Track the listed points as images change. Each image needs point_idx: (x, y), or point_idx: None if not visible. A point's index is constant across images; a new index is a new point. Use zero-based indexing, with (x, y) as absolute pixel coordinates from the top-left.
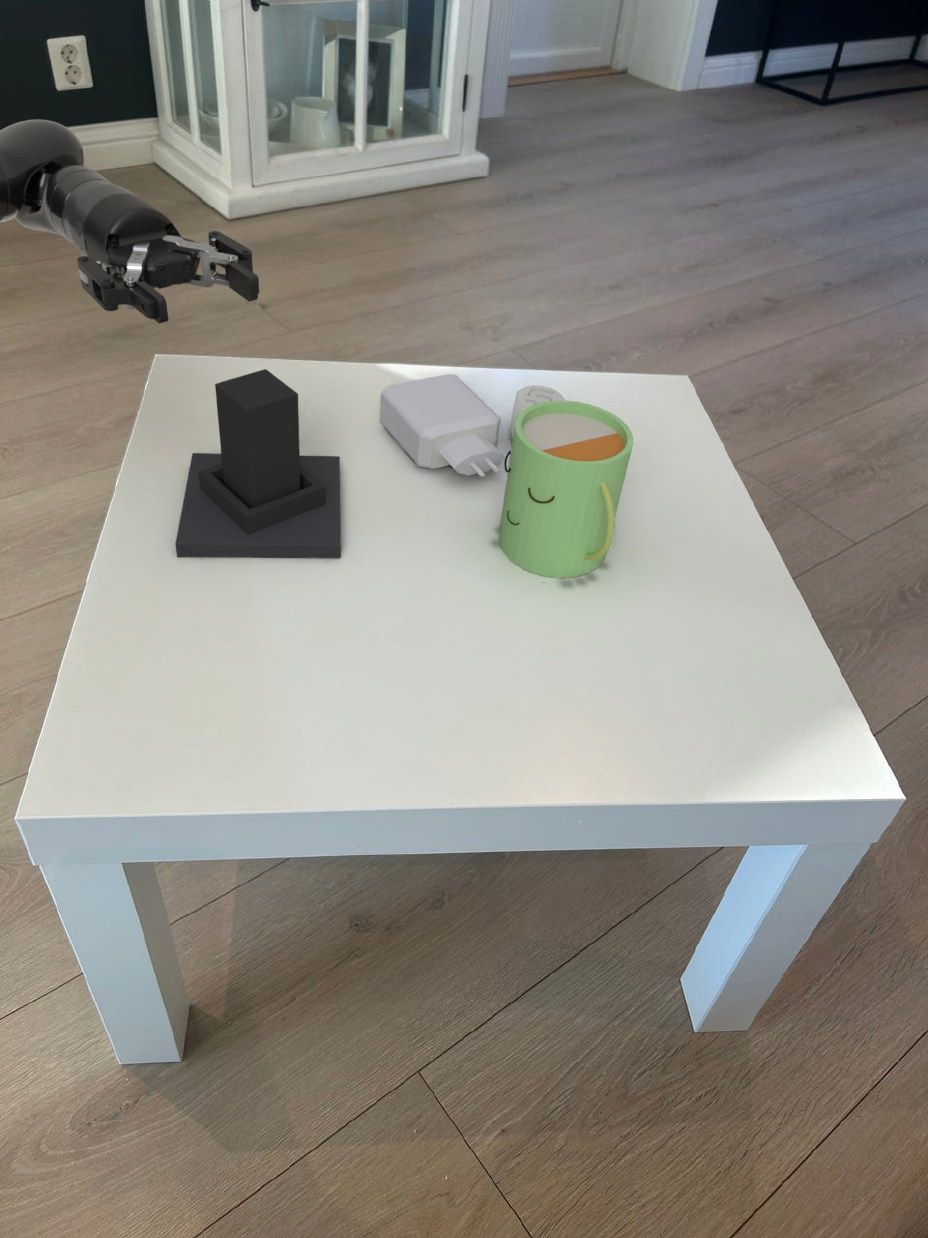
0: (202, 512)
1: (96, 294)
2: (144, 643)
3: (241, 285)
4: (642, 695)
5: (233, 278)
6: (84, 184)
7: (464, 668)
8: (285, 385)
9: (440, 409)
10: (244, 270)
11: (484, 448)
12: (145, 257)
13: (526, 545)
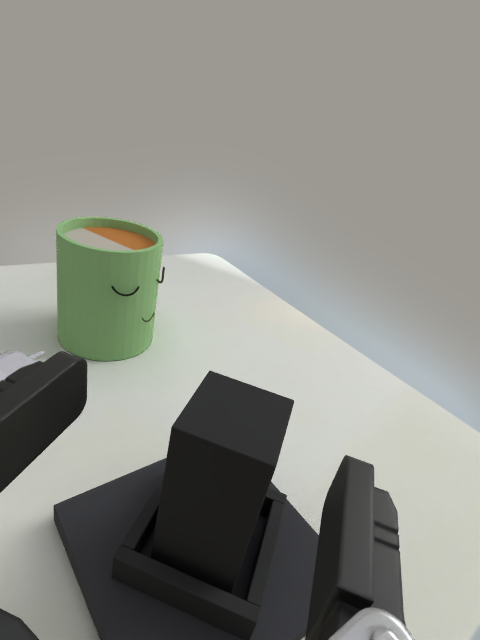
0: (288, 594)
1: None
2: (443, 529)
3: (53, 414)
4: (221, 298)
5: (16, 443)
6: None
7: (266, 352)
8: (201, 387)
9: None
10: (30, 379)
11: (14, 356)
12: None
13: (152, 324)
